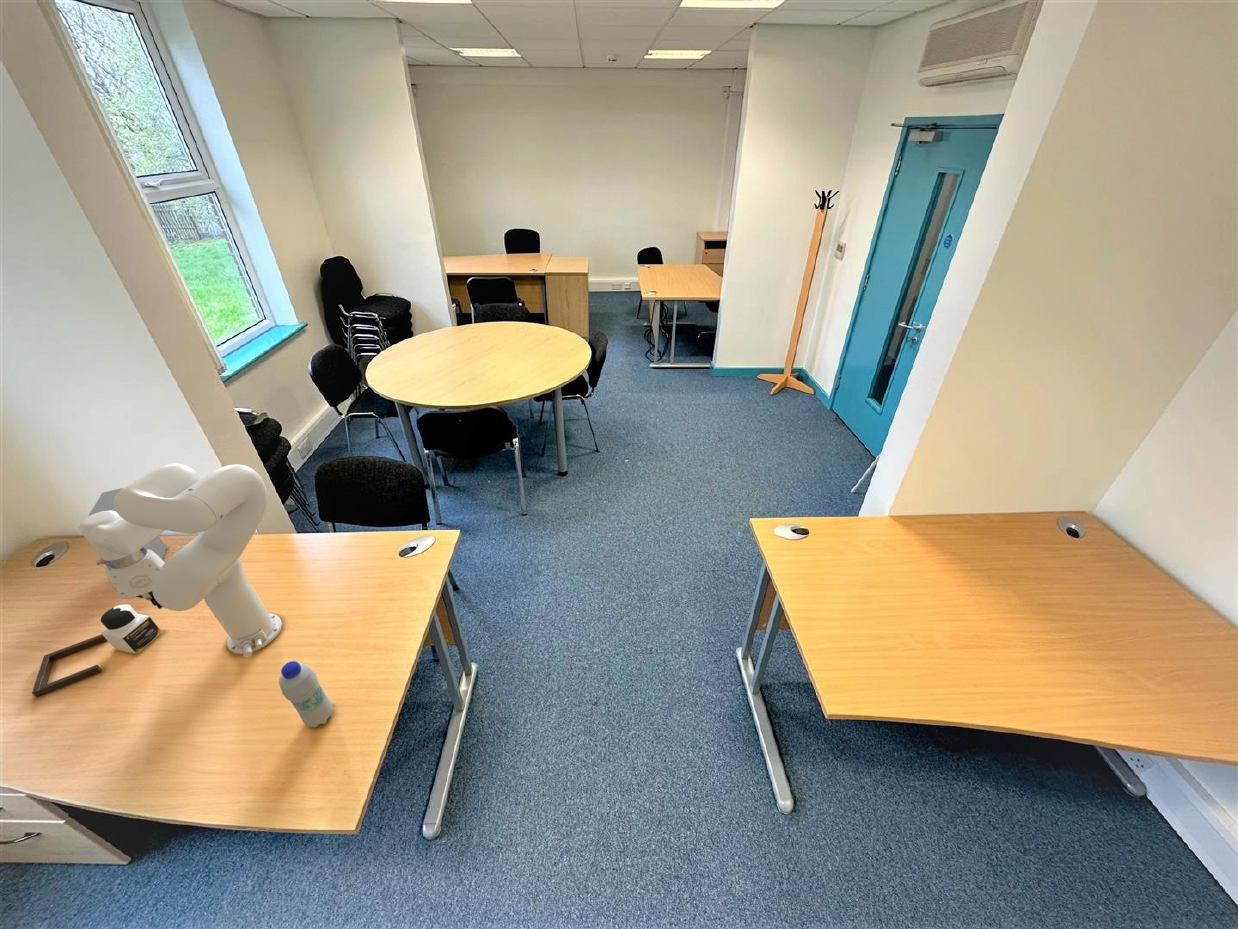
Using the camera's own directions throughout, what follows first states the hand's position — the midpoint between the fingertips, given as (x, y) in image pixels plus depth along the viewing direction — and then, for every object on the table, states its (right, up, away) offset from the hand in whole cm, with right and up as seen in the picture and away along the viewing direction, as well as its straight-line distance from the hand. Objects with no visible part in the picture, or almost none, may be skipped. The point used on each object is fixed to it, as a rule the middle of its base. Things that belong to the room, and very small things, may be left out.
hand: (163, 604), depth 131 cm
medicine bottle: (-7, -10, +1) cm, 12 cm away
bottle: (+53, -22, -17) cm, 60 cm away
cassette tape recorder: (-28, +6, +25) cm, 38 cm away
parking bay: (-17, -14, -6) cm, 23 cm away
